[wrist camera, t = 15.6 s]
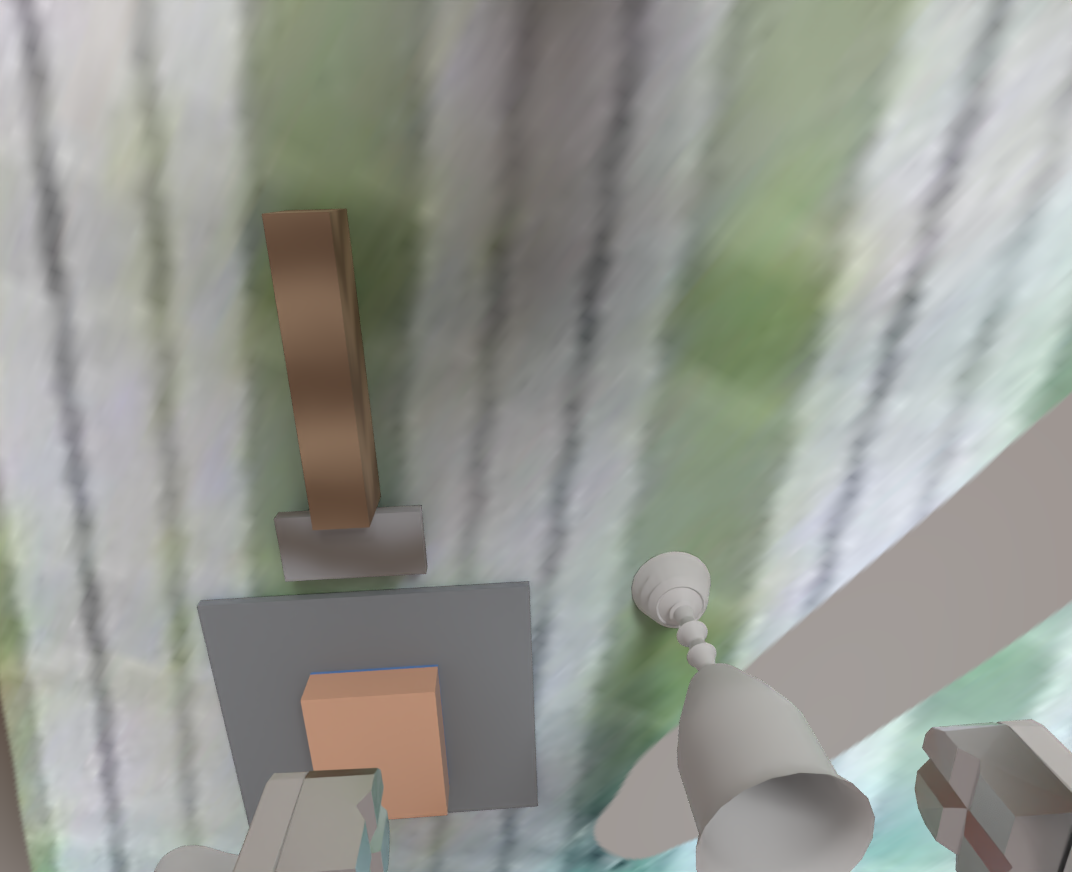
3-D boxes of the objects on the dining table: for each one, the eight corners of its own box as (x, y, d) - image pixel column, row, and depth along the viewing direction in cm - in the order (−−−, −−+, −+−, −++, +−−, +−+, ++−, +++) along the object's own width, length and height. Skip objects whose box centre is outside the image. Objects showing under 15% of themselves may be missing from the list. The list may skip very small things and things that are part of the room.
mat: (200, 600, 42) (196, 606, 41) (528, 581, 43) (529, 586, 42) (252, 819, 48) (249, 827, 47) (537, 798, 49) (537, 806, 48)
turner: (236, 212, 34) (205, 215, 31) (396, 206, 35) (384, 209, 31) (296, 559, 41) (277, 597, 38) (429, 552, 42) (423, 589, 38)
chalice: (674, 651, 45) (782, 930, 28) (593, 601, 43) (657, 867, 27) (749, 571, 43) (912, 819, 26) (668, 516, 42) (787, 743, 25)
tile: (300, 700, 41) (323, 824, 44) (434, 691, 41) (447, 815, 45) (310, 672, 43) (332, 792, 47) (438, 664, 44) (449, 783, 47)
